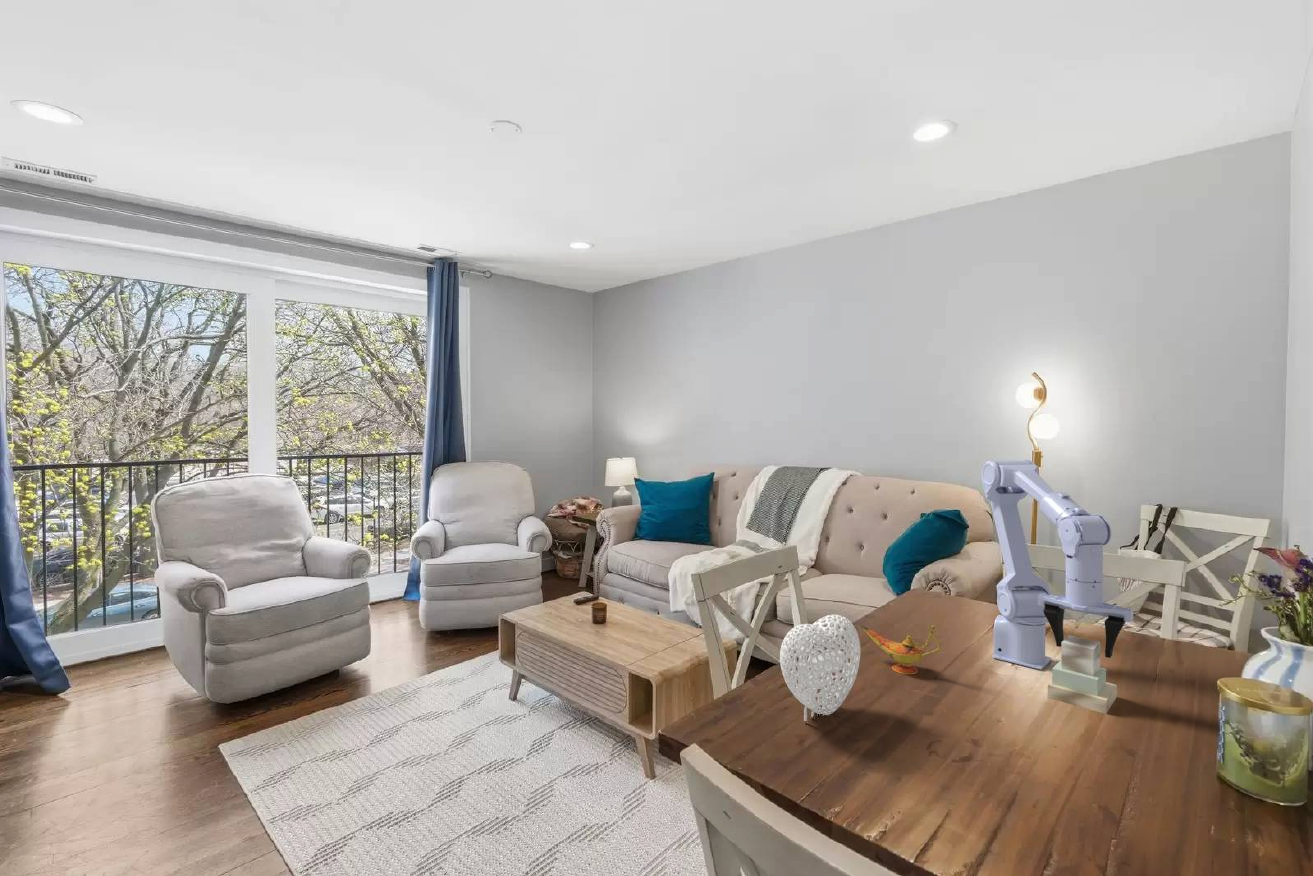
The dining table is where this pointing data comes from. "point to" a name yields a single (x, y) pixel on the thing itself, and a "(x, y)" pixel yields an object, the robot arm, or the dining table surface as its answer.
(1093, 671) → the ivory cube
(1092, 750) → the dining table surface
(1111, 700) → the birch slab
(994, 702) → the dining table surface
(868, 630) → the magic lamp
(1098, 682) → the sage block
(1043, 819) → the dining table surface
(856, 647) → the decorative heart
